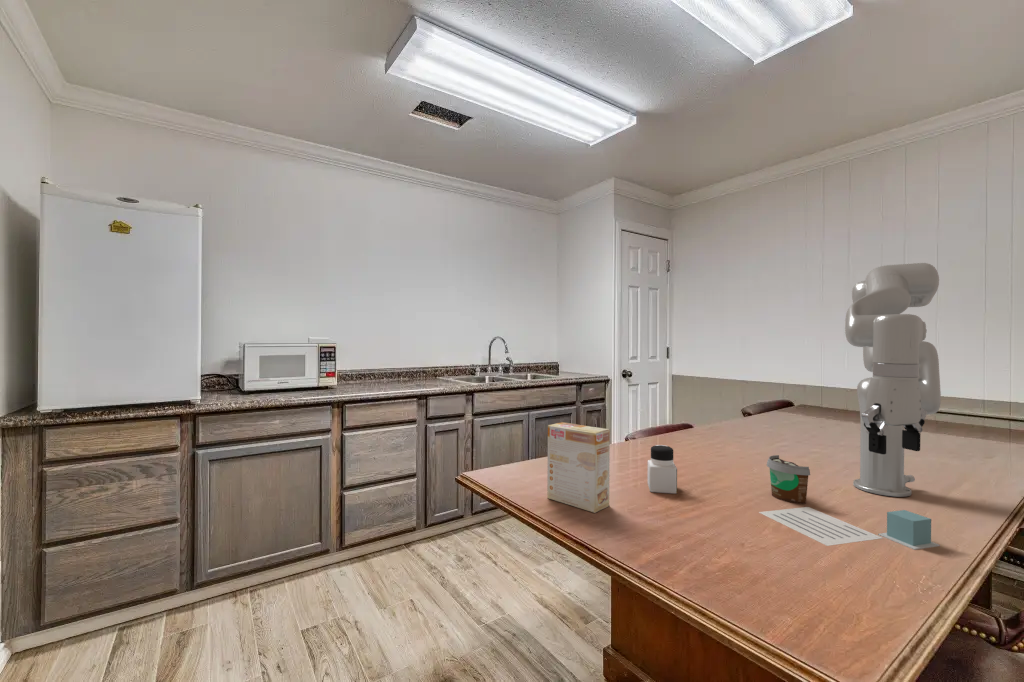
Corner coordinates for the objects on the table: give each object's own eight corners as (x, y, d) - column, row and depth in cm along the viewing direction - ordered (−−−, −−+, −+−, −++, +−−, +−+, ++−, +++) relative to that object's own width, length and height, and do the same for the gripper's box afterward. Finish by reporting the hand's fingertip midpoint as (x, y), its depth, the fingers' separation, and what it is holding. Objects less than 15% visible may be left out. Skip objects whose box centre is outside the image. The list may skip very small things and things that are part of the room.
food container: (756, 490, 125) (756, 454, 124) (777, 490, 125) (777, 454, 125) (787, 507, 112) (787, 467, 112) (810, 506, 113) (810, 467, 113)
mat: (902, 532, 98) (902, 530, 98) (940, 546, 91) (940, 544, 91) (878, 535, 96) (878, 533, 96) (914, 550, 89) (914, 548, 89)
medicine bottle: (677, 494, 121) (677, 450, 121) (649, 492, 123) (650, 448, 123) (673, 485, 128) (673, 444, 128) (647, 484, 130) (647, 442, 130)
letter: (808, 507, 112) (808, 506, 112) (883, 538, 95) (883, 537, 95) (758, 513, 108) (758, 512, 108) (826, 546, 91) (826, 545, 91)
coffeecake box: (610, 506, 113) (610, 428, 113) (594, 514, 108) (595, 433, 107) (562, 491, 123) (562, 421, 123) (546, 498, 118) (546, 424, 118)
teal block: (904, 532, 97) (904, 509, 97) (931, 543, 92) (931, 518, 92) (886, 535, 95) (887, 512, 95) (913, 545, 91) (913, 521, 91)
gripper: (905, 369, 102) (904, 444, 102) (846, 371, 97) (846, 449, 97) (944, 372, 94) (943, 452, 95) (883, 374, 90) (882, 458, 90)
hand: (894, 451), depth 96 cm, fingers open, 9 cm apart
